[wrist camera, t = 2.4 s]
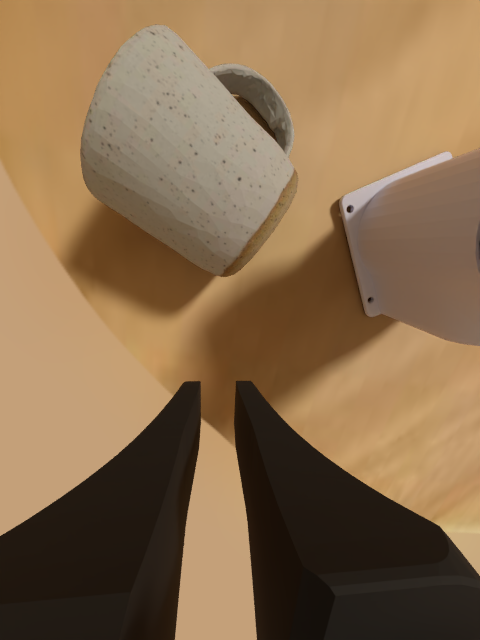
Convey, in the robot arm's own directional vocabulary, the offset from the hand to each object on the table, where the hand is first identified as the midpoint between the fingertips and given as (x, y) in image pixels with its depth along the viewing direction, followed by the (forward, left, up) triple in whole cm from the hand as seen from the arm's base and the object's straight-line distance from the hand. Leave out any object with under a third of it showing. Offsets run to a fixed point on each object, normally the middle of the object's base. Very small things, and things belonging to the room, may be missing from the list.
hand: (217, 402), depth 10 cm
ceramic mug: (+10, -4, -10) cm, 14 cm away
